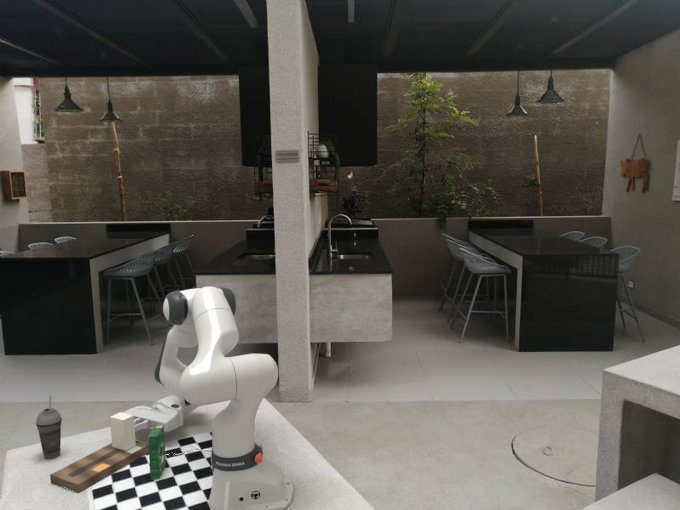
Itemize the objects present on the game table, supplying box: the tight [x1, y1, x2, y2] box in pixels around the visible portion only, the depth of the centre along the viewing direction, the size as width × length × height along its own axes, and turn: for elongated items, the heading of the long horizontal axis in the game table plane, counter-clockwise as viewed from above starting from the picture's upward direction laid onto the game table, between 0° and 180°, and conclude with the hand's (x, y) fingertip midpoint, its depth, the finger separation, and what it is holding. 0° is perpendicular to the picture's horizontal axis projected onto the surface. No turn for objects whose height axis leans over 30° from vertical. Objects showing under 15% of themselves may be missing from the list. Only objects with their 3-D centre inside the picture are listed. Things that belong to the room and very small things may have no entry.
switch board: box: [49, 439, 149, 493], centre depth 162 cm, size 26×12×3 cm, turn 153°
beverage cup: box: [35, 395, 63, 461], centre depth 168 cm, size 7×7×20 cm
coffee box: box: [147, 425, 167, 481], centre depth 158 cm, size 8×3×13 cm, turn 4°
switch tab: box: [109, 411, 136, 451], centre depth 169 cm, size 4×6×10 cm, turn 63°
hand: (131, 428), depth 172 cm, fingers closed
